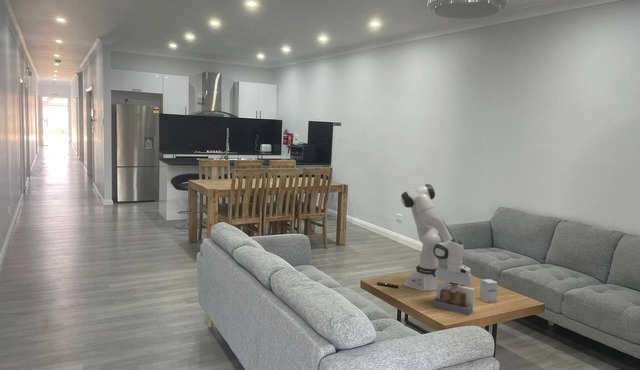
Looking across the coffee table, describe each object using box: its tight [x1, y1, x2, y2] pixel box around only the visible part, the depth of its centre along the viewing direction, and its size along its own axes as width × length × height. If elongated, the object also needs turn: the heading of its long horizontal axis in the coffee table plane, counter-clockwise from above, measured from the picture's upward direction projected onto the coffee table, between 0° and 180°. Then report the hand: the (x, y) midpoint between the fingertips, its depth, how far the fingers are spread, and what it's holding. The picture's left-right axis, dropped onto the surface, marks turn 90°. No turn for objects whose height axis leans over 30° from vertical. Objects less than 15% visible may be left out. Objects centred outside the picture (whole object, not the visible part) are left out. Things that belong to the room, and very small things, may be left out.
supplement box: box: [479, 278, 499, 303], centre depth 291 cm, size 7×7×13 cm
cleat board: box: [431, 281, 476, 316], centre depth 275 cm, size 22×9×13 cm, turn 58°
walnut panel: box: [440, 284, 466, 307], centre depth 275 cm, size 14×4×13 cm, turn 57°
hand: (453, 290), depth 274 cm, fingers closed on walnut panel, 3 cm apart
